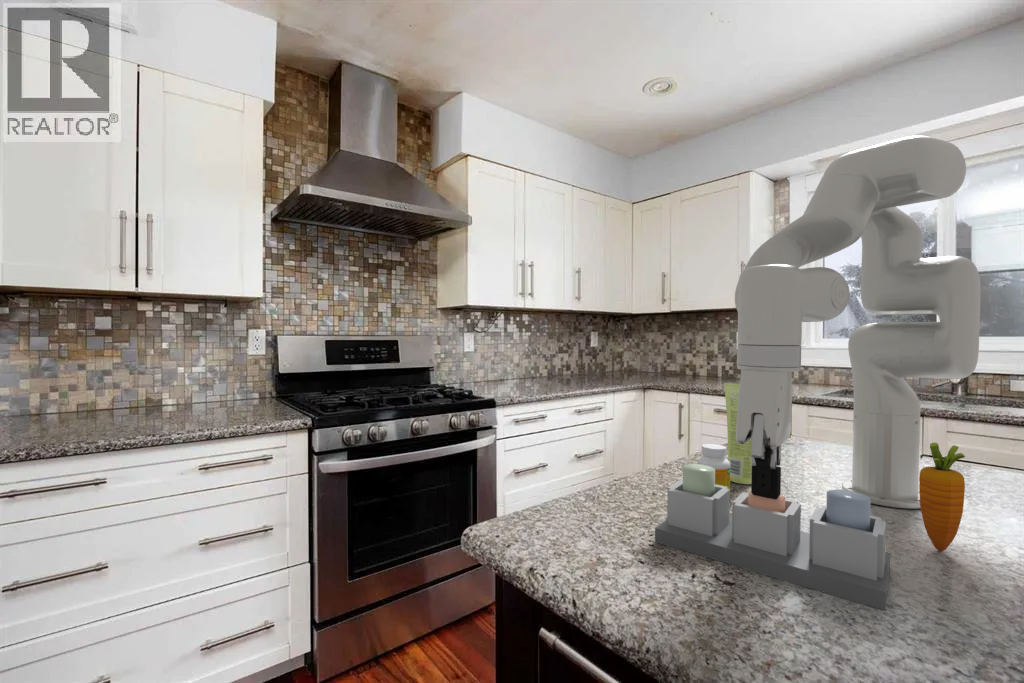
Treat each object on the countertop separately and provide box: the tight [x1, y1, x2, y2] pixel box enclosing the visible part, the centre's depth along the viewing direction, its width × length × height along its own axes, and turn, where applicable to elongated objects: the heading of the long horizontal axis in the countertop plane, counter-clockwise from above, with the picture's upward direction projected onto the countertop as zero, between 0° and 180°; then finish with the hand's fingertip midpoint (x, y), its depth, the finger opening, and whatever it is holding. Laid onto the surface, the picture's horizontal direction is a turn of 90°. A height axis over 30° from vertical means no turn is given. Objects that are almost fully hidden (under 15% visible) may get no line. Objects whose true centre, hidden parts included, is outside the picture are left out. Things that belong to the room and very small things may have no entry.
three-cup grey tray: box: [654, 479, 892, 611], centre depth 65 cm, size 12×26×7 cm, turn 50°
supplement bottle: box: [696, 443, 731, 490], centre depth 85 cm, size 5×5×10 cm
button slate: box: [826, 489, 872, 532], centre depth 59 cm, size 4×4×5 cm
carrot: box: [919, 442, 966, 553], centre depth 66 cm, size 5×5×15 cm
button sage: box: [682, 463, 715, 497], centre depth 71 cm, size 4×4×5 cm
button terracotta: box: [747, 490, 786, 513], centre depth 65 cm, size 4×4×5 cm
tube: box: [723, 382, 752, 485], centre depth 96 cm, size 6×5×20 cm
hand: (765, 495), depth 65 cm, fingers closed
